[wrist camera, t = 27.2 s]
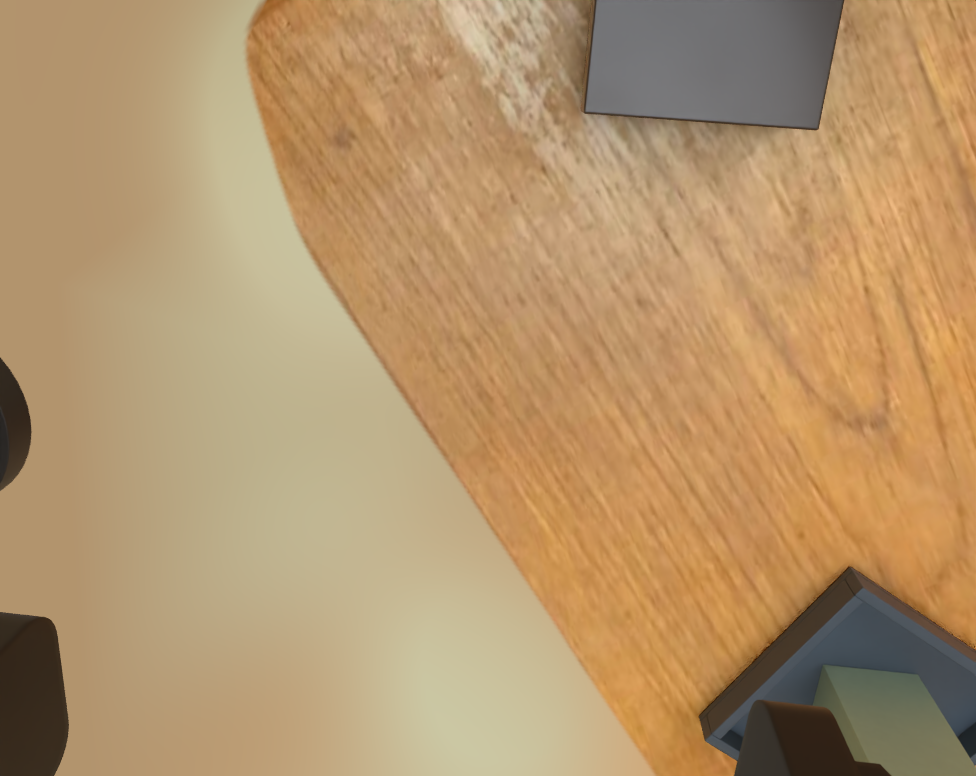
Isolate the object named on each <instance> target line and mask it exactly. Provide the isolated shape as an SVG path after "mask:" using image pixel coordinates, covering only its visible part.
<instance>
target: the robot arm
mask: <svg viewBox="0 0 976 776" xmlns="http://www.w3.org/2000/svg"><path fill="white" fill-rule="evenodd" d="M68 729H69V724H68V713H67V705H66V697H65V690H64V682H63V674H62V667H61V659H60V651H59V644H58V636H57V631H56V628H55V625H54V624H53V622H52V621H51V620H50V619H48V618H46V617H38V616H30V615H20V614H12V613H3V612H0V776H54V775H55V773H56V771H57V769H58V767H59V765H60V762H61V760H62V757H63V754H64V750H65V747H66V743H67V738H68ZM734 776H891V775H890V774H889V773H888V772H887V771H886V770H885V769H884V767H883V766H882V765H881V764H876V763H867V762H859V761H855V760H854V758H853V756H852V754H851V752H850V749H849V747H848V745H847V743H846V741H845V738H844V736H843V734H842V732H841V730H840V727H839V725H838V723H837V721H836V719H835V717H834V715H833V714H832V712H831V711H830V710H829V709H828V708H825V707H820V706H811V705H802V704H793V703H784V702H775V701H767V700H756V701H755V702H754V703H753V705H752V707H751V709H750V712H749V715H748V720H747V724H746V728H745V732H744V736H743V741H742V745H741V749H740V753H739V757H738V762H737V766H736V770H735V774H734Z"/></svg>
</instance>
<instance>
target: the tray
mask: <svg viewBox="0 0 976 776" xmlns="http://www.w3.org/2000/svg"><path fill="white" fill-rule="evenodd" d="M823 665H832V666H841V667H851V668H860V669H870V670H880V671H889V672H899V673H908V674H917V675H918V676H919V677H920V679H921V681H922V682H923V684H924V685H925V687H926V689H927V690H928V692H929V693H930V695H931V697H932V698H933V700H934V701H935V703H936V705H937V706H938V708H939V709H940V711H941V713H942V714H943V716H944V717H945V719H946V721H947V722H948V724H949V725H950V727H951V729H952V730H953V732H954V733H955V735H956V737H957V738H958V740H959V741H960V743H961V745H962V746H963V748H964V749H965V751H966V753H967V754H968V756H969V757H970V759H971V761H972V762H973V764H974V765H976V651H975V650H974V649H972V648H971V647H969V646H968V645H966V644H965V643H963V642H962V641H960V640H959V639H957V638H956V637H954V636H953V635H951V634H950V633H948V632H947V631H946V630H944V629H943V628H941V627H940V626H938V625H937V624H935V623H934V622H932V621H931V620H929V619H928V618H926V617H925V616H923V615H922V614H920V613H919V612H917V611H916V610H914V609H913V608H911V607H910V606H908V605H907V604H905V603H904V602H902V601H901V600H899V599H898V598H896V597H895V596H893V595H892V594H890V593H889V592H887V591H886V590H884V589H883V588H881V587H880V586H878V585H877V584H875V583H874V582H872V581H871V580H869V579H868V578H866V577H865V576H864V575H862V574H861V573H859V572H858V571H856V570H855V569H853V568H852V567H849V568H848V569H847V570H846V571H845V572H844V573H843V574H842V575H841V576H840V577H839V578H838V579H837V580H836V581H835V582H834V583H833V584H832V585H831V586H830V587H829V588H828V589H827V590H826V591H825V592H824V593H823V594H822V595H821V596H820V597H819V598H818V599H817V600H816V601H815V602H814V603H813V604H812V605H811V606H810V607H809V608H808V609H807V610H806V611H805V612H804V613H803V614H802V615H801V616H800V617H799V618H798V619H797V620H796V621H795V622H794V623H793V624H792V625H791V626H790V627H789V628H788V629H787V630H786V631H785V632H784V633H783V634H782V635H781V636H780V637H779V638H778V639H777V640H776V641H774V642H773V643H772V644H771V645H770V646H769V647H768V648H767V649H766V650H765V651H764V652H763V653H762V654H761V655H760V656H759V657H758V658H757V659H756V660H755V661H754V662H753V663H752V664H751V665H750V666H749V667H748V668H747V669H746V670H745V671H744V672H743V673H742V674H741V675H740V676H739V677H738V678H737V679H736V680H735V681H734V682H733V683H732V684H731V685H730V686H729V687H728V688H727V689H726V690H725V691H724V692H723V693H722V694H721V695H720V696H719V697H718V698H717V699H716V700H715V701H714V702H713V703H712V704H711V705H710V706H709V707H708V708H707V709H706V710H705V711H704V712H703V713H702V714H701V715H700V716H699V718H700V721H701V726H702V731H703V735H704V739H705V741H706V742H707V743H709V744H711V745H712V746H714V747H716V748H717V749H719V750H720V751H722V752H724V753H725V754H727V755H729V756H730V757H732V758H733V759H735V760H737V761H738V757H739V753H740V749H741V745H742V741H743V736H744V732H745V728H746V724H747V720H748V715H749V712H750V709H751V707H752V705H753V703H754V702H755V701H756V700H767V701H775V702H784V703H793V704H802V705H811V706H813V702H814V698H815V694H816V690H817V687H818V683H819V679H820V675H821V671H822V667H823Z"/></svg>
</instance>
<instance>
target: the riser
mask: <svg viewBox="0 0 976 776" xmlns="http://www.w3.org/2000/svg"><path fill="white" fill-rule="evenodd" d="M843 4H844V0H591V10H590V20H589V30H588V40H587V50H586V60H585V69H584V79H583V89H582V99H581V111H582V112H583V113H585V114H598V115H611V116H625V117H639V118H653V119H667V120H680V121H694V122H708V123H722V124H736V125H750V126H763V127H777V128H791V129H805V130H818V128H819V124H820V119H821V114H822V109H823V104H824V99H825V94H826V89H827V84H828V79H829V74H830V69H831V64H832V59H833V54H834V49H835V44H836V39H837V34H838V29H839V24H840V19H841V14H842V9H843Z"/></svg>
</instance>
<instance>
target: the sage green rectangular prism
mask: <svg viewBox="0 0 976 776" xmlns="http://www.w3.org/2000/svg"><path fill="white" fill-rule="evenodd" d="M813 706H820V707H825V708H828V709H829V710H830V711H831V712H832V714H833V715H834V717H835V719H836V721H837V723H838V725H839V727H840V730H841V732H842V734H843V736H844V738H845V741H846V743H847V745H848V747H849V749H850V752H851V754H852V756H853V758H854V760H855V761H859V762H867V763H876V764H881V765H882V766H883V767H884V769H885V770H886V771H887V772H888V773H889V774H890V775H891V776H976V767H975V765H974V764H973V762H972V761H971V759H970V757H969V756H968V754H967V753H966V751H965V749H964V748H963V746H962V745H961V743H960V741H959V740H958V738H957V737H956V735H955V733H954V732H953V730H952V729H951V727H950V725H949V724H948V722H947V721H946V719H945V717H944V716H943V714H942V713H941V711H940V709H939V708H938V706H937V705H936V703H935V701H934V700H933V698H932V697H931V695H930V693H929V692H928V690H927V689H926V687H925V685H924V684H923V682H922V681H921V679H920V677H919V676H918V675H917V674H908V673H899V672H889V671H880V670H870V669H860V668H851V667H841V666H832V665H823V667H822V671H821V675H820V679H819V683H818V687H817V690H816V694H815V698H814V702H813Z"/></svg>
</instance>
